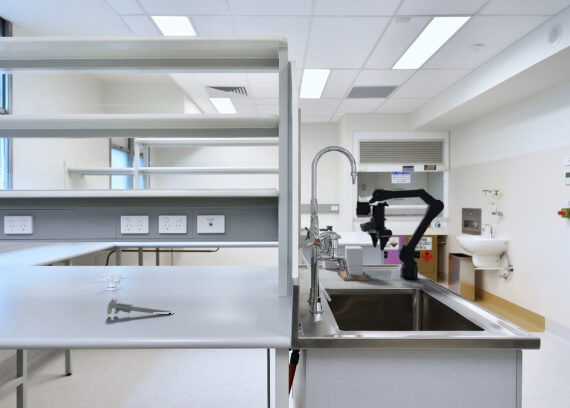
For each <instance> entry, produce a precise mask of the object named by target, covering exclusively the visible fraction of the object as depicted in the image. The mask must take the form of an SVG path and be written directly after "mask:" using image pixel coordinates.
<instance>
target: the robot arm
mask: <svg viewBox="0 0 570 408" xmlns="http://www.w3.org/2000/svg"><path fill="white" fill-rule="evenodd" d="M371 195H372V197H371V198H370V199H369V200H368V201H361V200H360V201H359V200H358V201H356V207H355V214H356V215H355V216H360V217H361V216H363V217H366V216H368V217H369V215H370V214H371V217H370V219H369V221H366V222H363V223H360V225H359V227H360V230H361V232H364V233H367V234H368V235H369V237H370V238H371V243H372V246H373V248H377V246H378V242H379V249H380V251H381V252H382V251H384V250H385V249H386V246H387V245H388V242H389V240H390V238H392V237H393V231H392V230H391V229H388V228H387V226H386V224H385V223H386V221H387V218H386V216H385V215H386V207H389V206H390V205H389V203H387V201H388V200H392V199H411V198H419V199H421V200H422V201H423V202H424V203H425V204H426V205H427V206H426V209H425V212H424V216H423V217H422V219H421V221H420V222H419V224H418V225H417V227H416V228H415V230H414V231H413V233H412V235H411V236H410V238H409V240H408V241H407V242H406V243H404V242H402V243H401V245H400V247H399V248H398V249H397V251H398V252H397V253H398V254H397V256H398V258H399V260H400V261H401V262H402V263H403V264H401V267H400V275H399V277H400V278H402V279H403V280H405V281H413V280H414V281H415V280H416V281H417V280H418V281H419V280H420V278H419V277H418V274H419V273H418V272H419V271H418V270H419V269H418V262H417V260H416V258H415V257H414V255H415V253H416V248H417V246H418V245H419V243H420V241H421V240H422V238H423V237H424V235H425V233H426V231H427V229H428V228H429V227H430V225H431V224H432V222H433V220H435V219H436V218H437V217H438V216H439V215H440V214H441V212H443V210H444V209H445V203H444V202H443V201H442V200H441V199H436V198H435V197H434V196H432V195H431V194H430V193H429V192H428V191H426V190H425V189H424V188H417V189H401V190H389V189H378V188H377V189H374V191H373V192H372V193H371ZM376 202H377V204H375V203H376Z"/></svg>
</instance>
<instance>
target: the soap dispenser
mask: <svg viewBox="0 0 570 408" xmlns="http://www.w3.org/2000/svg"><path fill="white" fill-rule="evenodd" d="M319 230H320V231H319ZM328 230H330V231H332V232H333V225H326V228H319V229H318V231H319V232H327V231H328ZM321 261H322V260H321ZM321 265H322V266H321V267H322V268H323V269H324V270H338V262H337V263H333V262H329V261H322V263H321Z"/></svg>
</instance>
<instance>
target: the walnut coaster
mask: <svg viewBox="0 0 570 408" xmlns="http://www.w3.org/2000/svg"><path fill="white" fill-rule="evenodd" d="M337 275H338V277H340V278H341V279H342V280H343V281H344V282H345V281H346V280H348V281H371V276H370V275H368V273H366V272H365V271H363V275H350V278H347V276H346V273H345V270H338V271H337ZM348 281H347V282H348Z"/></svg>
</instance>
